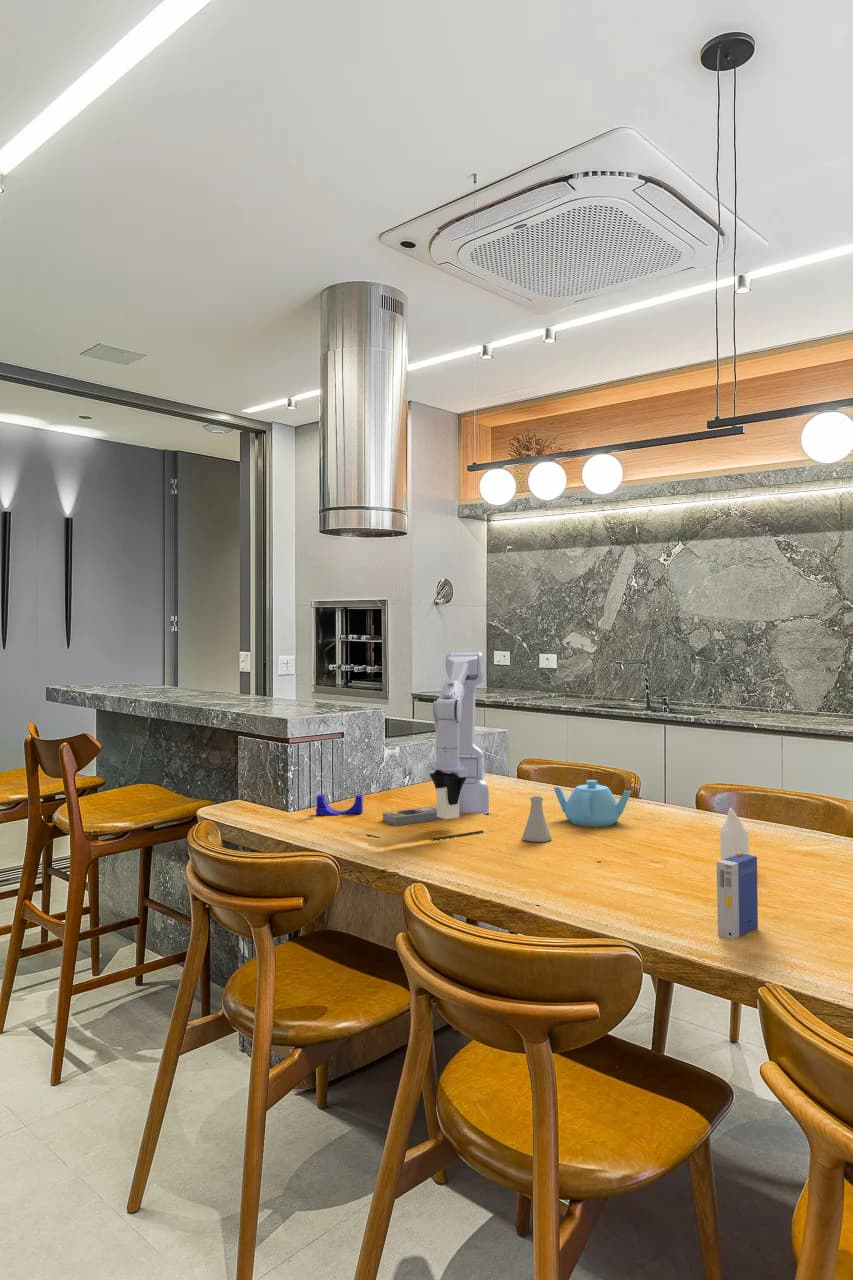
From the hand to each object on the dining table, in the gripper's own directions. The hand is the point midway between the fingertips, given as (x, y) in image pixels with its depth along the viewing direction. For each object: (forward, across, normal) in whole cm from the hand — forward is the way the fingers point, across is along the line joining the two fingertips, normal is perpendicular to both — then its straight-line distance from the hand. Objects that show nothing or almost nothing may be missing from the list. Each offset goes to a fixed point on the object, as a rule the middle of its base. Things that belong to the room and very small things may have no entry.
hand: (448, 802), depth 201 cm
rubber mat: (+7, 0, 0) cm, 7 cm away
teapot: (+8, +10, +38) cm, 40 cm away
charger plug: (+3, 0, 0) cm, 4 cm away
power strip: (+7, -14, 0) cm, 16 cm away
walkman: (+8, +83, +2) cm, 83 cm away
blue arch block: (+8, -32, -15) cm, 36 cm away
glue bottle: (+8, +58, +33) cm, 67 cm away
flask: (+8, +17, +14) cm, 23 cm away
